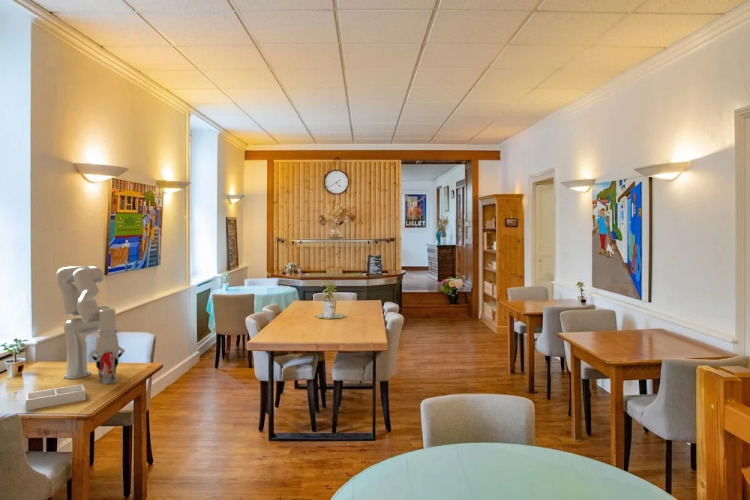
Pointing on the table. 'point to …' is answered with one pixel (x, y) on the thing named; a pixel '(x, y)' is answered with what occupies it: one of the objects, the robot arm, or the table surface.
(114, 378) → the coffee box
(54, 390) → the divided tray
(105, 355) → the soda can
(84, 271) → the robot arm
